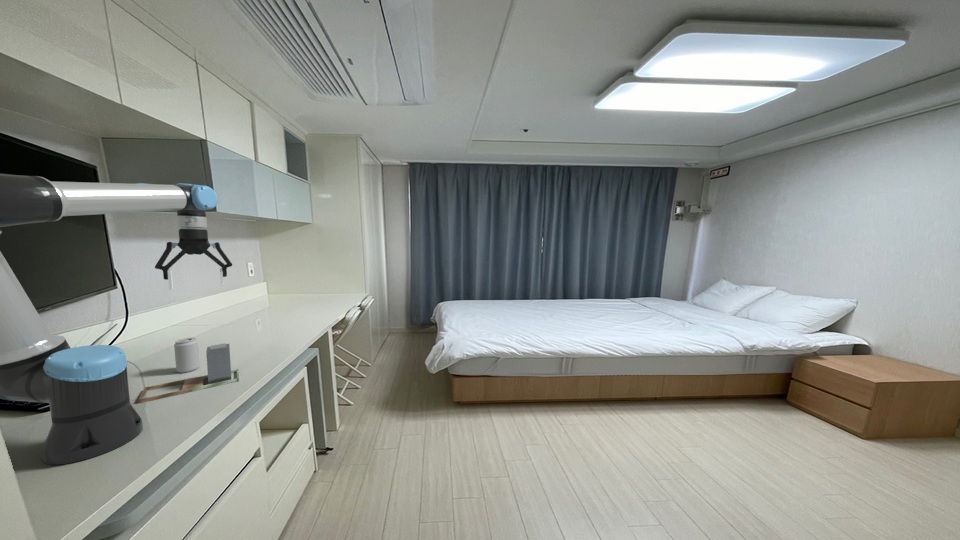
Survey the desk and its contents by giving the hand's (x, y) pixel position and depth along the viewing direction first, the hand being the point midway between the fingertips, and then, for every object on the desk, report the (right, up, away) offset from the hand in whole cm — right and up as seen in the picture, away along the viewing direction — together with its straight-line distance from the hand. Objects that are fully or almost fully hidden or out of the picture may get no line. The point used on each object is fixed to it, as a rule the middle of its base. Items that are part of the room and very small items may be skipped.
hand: (197, 287), depth 109 cm
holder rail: (+5, -34, -7) cm, 35 cm away
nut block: (+10, -33, -2) cm, 35 cm away
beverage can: (-9, -32, +5) cm, 34 cm away
